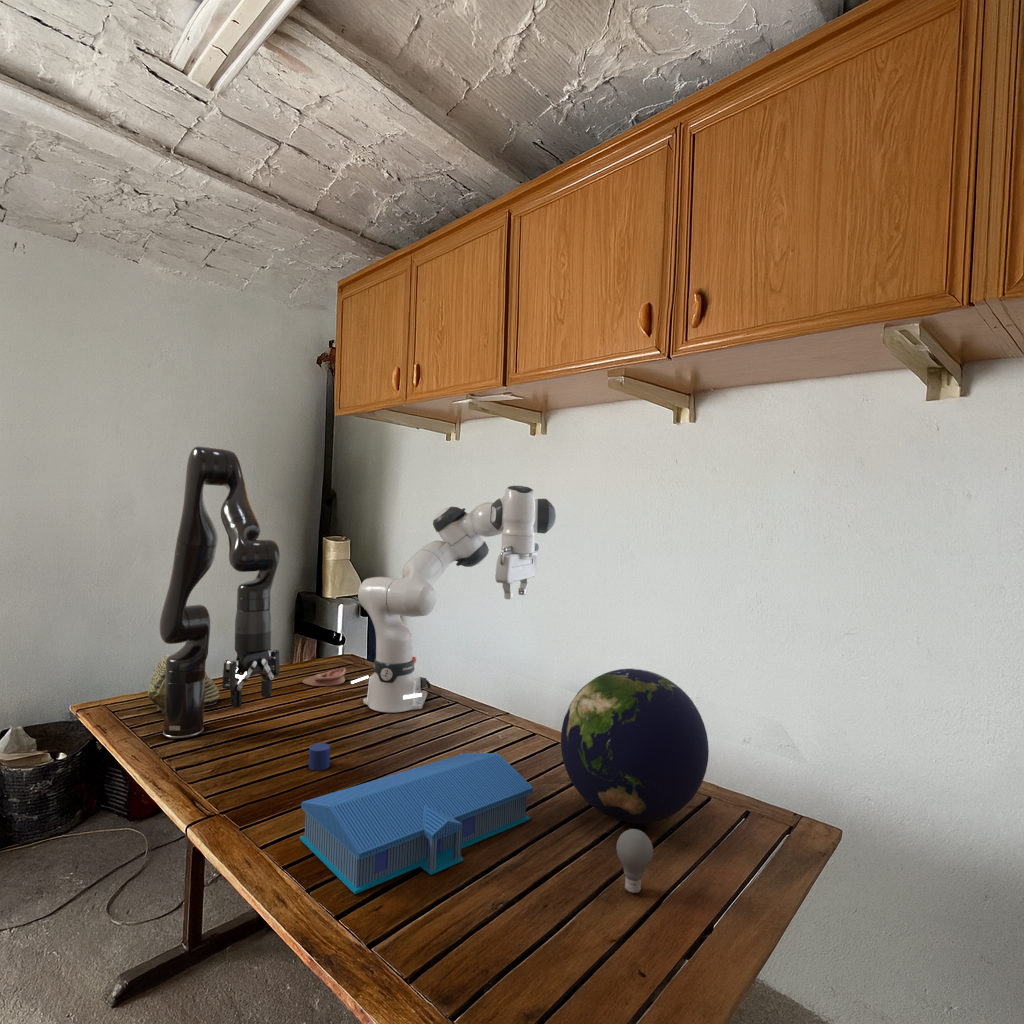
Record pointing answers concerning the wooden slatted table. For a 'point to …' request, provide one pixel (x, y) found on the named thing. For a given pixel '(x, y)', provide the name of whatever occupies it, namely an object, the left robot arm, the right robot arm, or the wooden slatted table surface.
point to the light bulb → (634, 857)
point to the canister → (319, 756)
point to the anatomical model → (326, 678)
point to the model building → (414, 818)
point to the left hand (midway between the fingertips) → (251, 701)
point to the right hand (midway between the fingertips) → (515, 596)
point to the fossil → (158, 687)
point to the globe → (634, 745)
